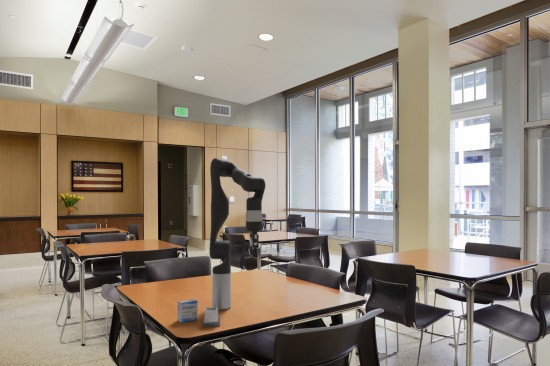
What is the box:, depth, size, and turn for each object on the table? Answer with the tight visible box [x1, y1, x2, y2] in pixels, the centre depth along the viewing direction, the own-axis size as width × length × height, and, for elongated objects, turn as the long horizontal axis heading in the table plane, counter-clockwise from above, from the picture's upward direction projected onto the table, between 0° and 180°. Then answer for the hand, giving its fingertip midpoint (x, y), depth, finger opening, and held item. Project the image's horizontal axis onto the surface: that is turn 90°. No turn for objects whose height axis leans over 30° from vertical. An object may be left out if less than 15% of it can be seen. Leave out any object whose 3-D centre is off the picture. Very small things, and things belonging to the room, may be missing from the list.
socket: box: [204, 306, 219, 323], centre depth 168 cm, size 6×6×5 cm
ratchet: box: [202, 317, 221, 328], centre depth 172 cm, size 15×7×4 cm, turn 9°
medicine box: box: [176, 298, 199, 324], centre depth 174 cm, size 8×4×9 cm, turn 126°
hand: (254, 256), depth 177 cm, fingers open, 8 cm apart
